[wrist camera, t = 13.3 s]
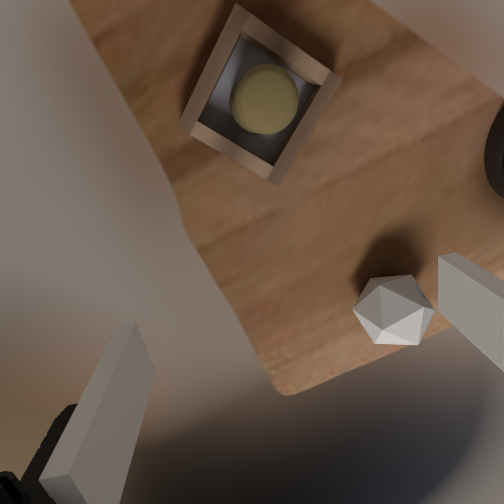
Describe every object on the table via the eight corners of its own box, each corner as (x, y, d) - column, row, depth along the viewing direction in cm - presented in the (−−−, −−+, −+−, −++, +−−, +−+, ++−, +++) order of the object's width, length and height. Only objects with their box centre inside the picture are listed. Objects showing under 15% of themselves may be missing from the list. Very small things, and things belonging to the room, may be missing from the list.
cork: (253, 58, 34) (263, 34, 24) (297, 99, 36) (324, 93, 26) (217, 108, 36) (213, 105, 26) (261, 146, 38) (273, 156, 28)
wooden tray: (332, 82, 36) (342, 79, 33) (273, 180, 40) (278, 186, 37) (234, 13, 33) (235, 2, 30) (180, 125, 37) (176, 126, 34)
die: (403, 318, 49) (465, 316, 40) (363, 356, 46) (421, 363, 37) (371, 269, 49) (426, 255, 40) (329, 303, 46) (378, 297, 37)
